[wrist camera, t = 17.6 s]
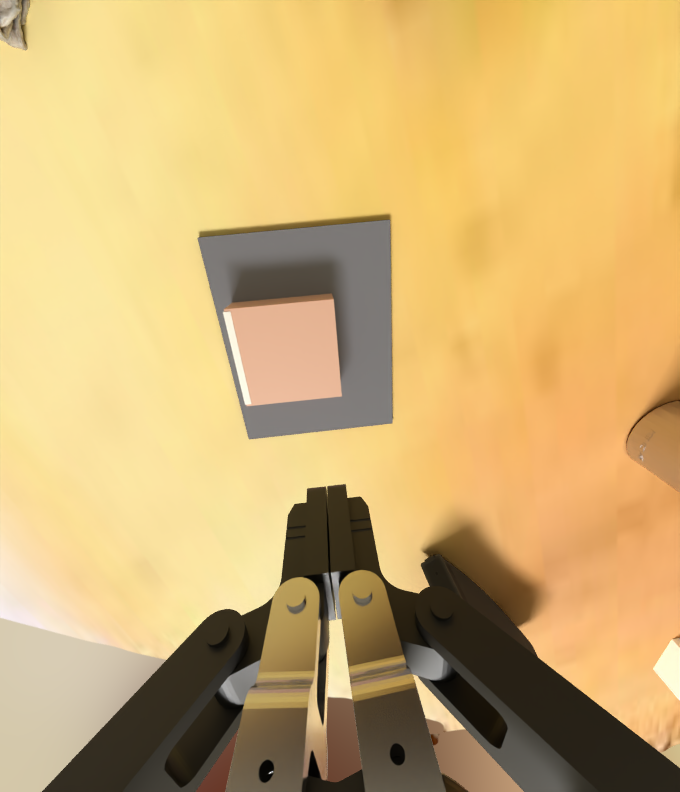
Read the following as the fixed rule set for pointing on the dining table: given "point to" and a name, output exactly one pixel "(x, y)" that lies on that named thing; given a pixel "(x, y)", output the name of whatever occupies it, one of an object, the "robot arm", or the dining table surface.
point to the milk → (670, 666)
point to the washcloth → (13, 22)
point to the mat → (354, 313)
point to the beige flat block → (285, 348)
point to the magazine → (470, 595)
